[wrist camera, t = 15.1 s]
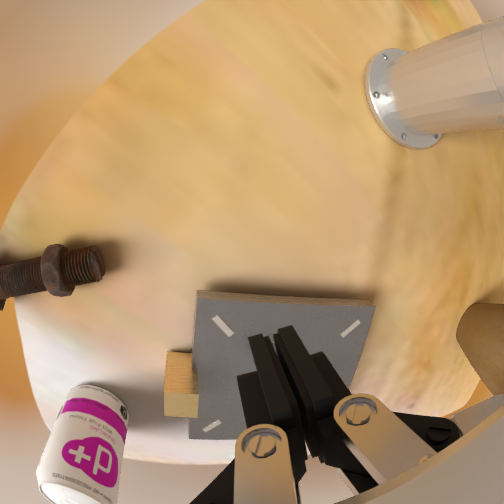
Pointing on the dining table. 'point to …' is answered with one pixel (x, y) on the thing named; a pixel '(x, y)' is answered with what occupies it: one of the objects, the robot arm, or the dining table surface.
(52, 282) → the bolt
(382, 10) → the dining table surface
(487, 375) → the plant pot
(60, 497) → the supplement can
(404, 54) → the robot arm
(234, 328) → the grey mounting base
